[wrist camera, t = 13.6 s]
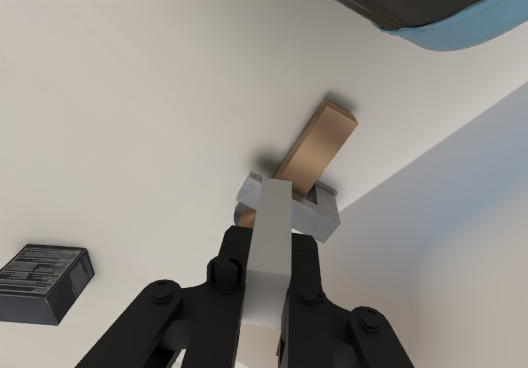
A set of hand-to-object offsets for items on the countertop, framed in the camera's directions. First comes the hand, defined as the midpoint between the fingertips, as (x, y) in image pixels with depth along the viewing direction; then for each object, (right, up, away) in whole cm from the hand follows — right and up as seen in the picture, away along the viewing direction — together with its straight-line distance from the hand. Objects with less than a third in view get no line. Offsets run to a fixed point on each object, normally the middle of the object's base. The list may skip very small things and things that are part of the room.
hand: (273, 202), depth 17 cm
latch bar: (+3, +2, +25) cm, 25 cm away
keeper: (+2, +2, +27) cm, 27 cm away
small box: (-35, -12, +38) cm, 53 cm away
